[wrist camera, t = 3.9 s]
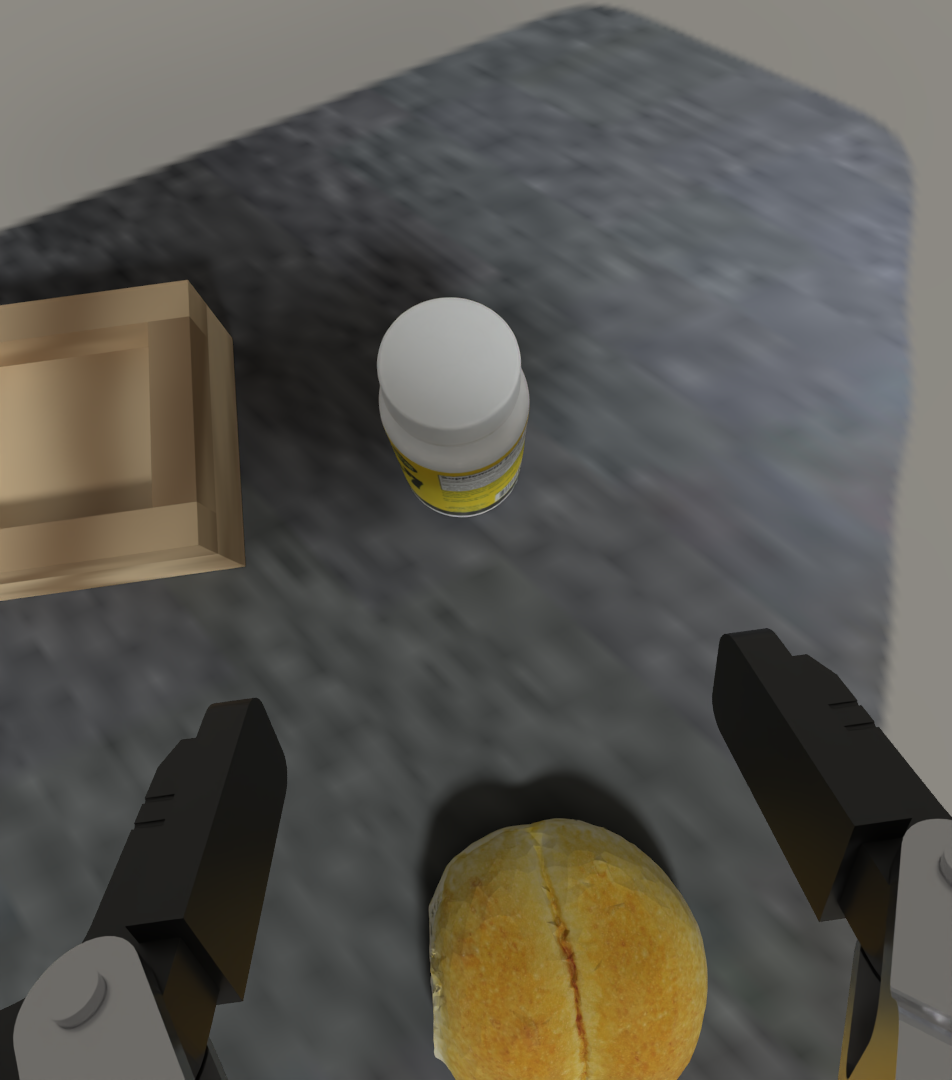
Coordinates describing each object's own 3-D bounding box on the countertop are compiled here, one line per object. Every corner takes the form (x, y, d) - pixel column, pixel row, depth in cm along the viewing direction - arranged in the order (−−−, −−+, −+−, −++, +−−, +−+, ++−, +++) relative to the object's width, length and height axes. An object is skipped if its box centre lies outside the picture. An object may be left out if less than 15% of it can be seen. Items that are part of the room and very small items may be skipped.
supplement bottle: (393, 423, 25) (346, 302, 17) (503, 396, 26) (510, 263, 17) (419, 533, 24) (382, 460, 16) (534, 504, 25) (556, 417, 16)
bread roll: (710, 1065, 20) (762, 1156, 17) (440, 1090, 20) (429, 1188, 17) (670, 800, 22) (708, 826, 18) (422, 823, 22) (408, 855, 18)
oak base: (-9, 602, 24) (-105, 587, 20) (-1, 370, 26) (-86, 317, 22) (245, 566, 24) (198, 545, 20) (232, 338, 26) (187, 279, 23)
